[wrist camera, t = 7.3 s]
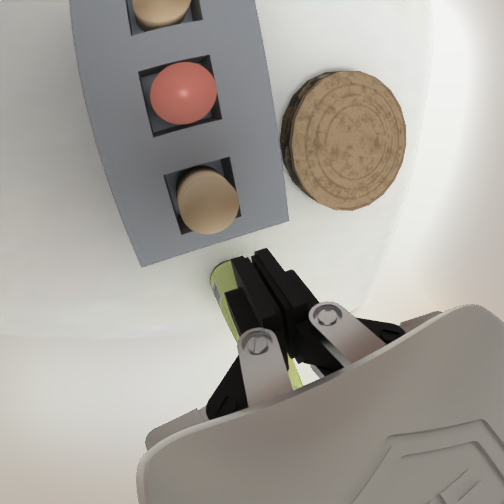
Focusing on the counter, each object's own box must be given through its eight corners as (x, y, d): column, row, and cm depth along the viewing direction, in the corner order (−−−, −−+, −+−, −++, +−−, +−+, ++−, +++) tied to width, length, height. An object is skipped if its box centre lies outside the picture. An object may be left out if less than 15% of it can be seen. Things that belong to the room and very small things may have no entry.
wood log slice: (279, 210, 32) (290, 220, 29) (276, 65, 23) (289, 62, 21) (384, 195, 36) (398, 203, 33) (391, 81, 27) (408, 82, 25)
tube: (261, 263, 34) (350, 398, 18) (245, 297, 36) (316, 432, 20) (216, 255, 32) (288, 409, 16) (203, 291, 33) (257, 444, 17)
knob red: (146, 78, 18) (144, 71, 14) (200, 64, 19) (210, 56, 15) (157, 127, 20) (158, 132, 17) (210, 114, 21) (222, 115, 18)
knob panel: (81, 3, 14) (68, -15, 10) (227, -29, 16) (242, -50, 12) (142, 241, 28) (141, 267, 24) (269, 202, 30) (289, 220, 26)
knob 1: (132, 1, 15) (129, -17, 11) (182, -10, 16) (188, -29, 12) (139, 40, 17) (136, 27, 14) (189, 28, 18) (196, 14, 15)
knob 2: (169, 173, 23) (173, 188, 19) (219, 159, 23) (233, 170, 20) (183, 219, 25) (189, 241, 21) (229, 205, 26) (243, 224, 22)
